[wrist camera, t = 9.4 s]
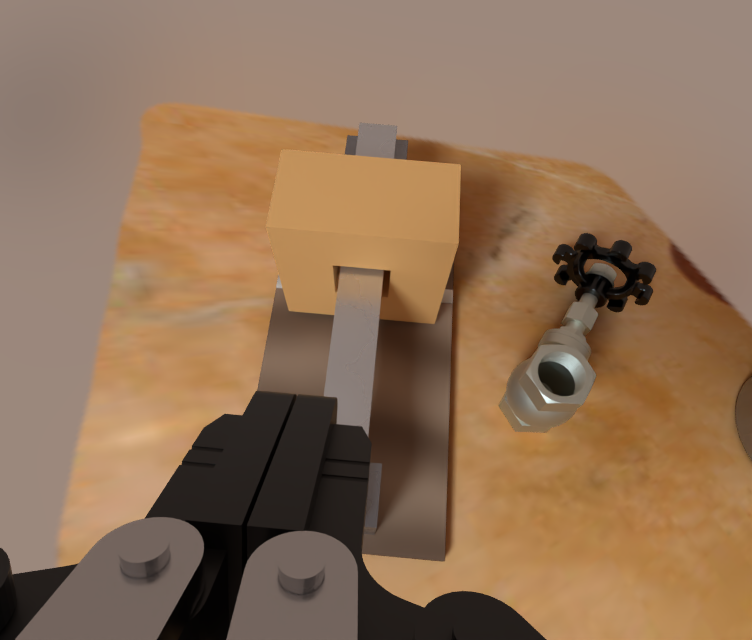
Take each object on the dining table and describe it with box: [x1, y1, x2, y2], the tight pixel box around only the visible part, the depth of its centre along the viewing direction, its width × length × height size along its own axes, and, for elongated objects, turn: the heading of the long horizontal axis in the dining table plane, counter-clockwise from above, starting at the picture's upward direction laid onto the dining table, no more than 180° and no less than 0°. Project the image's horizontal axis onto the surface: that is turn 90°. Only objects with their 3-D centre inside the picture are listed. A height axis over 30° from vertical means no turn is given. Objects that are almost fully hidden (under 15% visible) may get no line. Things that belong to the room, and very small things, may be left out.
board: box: [257, 261, 454, 561], centre depth 36 cm, size 26×12×1 cm, turn 175°
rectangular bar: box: [324, 123, 408, 535], centre depth 33 cm, size 24×4×7 cm, turn 175°
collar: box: [266, 149, 461, 324], centre depth 32 cm, size 5×10×10 cm, turn 85°
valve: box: [498, 233, 656, 433], centre depth 33 cm, size 7×7×12 cm
